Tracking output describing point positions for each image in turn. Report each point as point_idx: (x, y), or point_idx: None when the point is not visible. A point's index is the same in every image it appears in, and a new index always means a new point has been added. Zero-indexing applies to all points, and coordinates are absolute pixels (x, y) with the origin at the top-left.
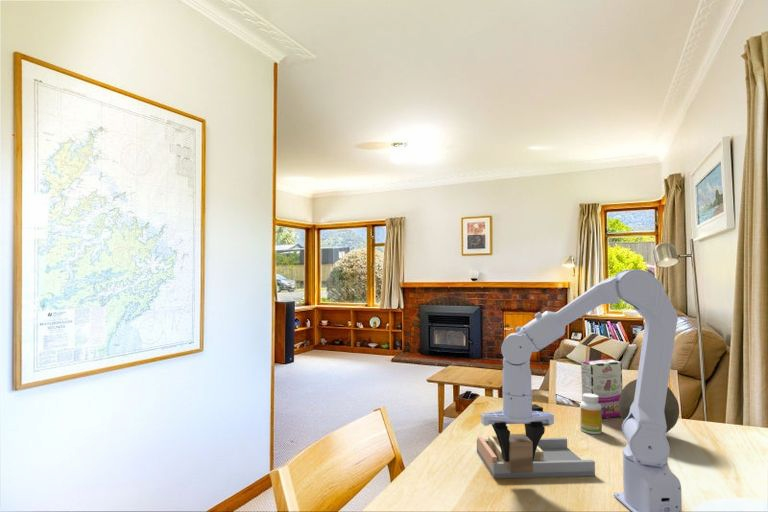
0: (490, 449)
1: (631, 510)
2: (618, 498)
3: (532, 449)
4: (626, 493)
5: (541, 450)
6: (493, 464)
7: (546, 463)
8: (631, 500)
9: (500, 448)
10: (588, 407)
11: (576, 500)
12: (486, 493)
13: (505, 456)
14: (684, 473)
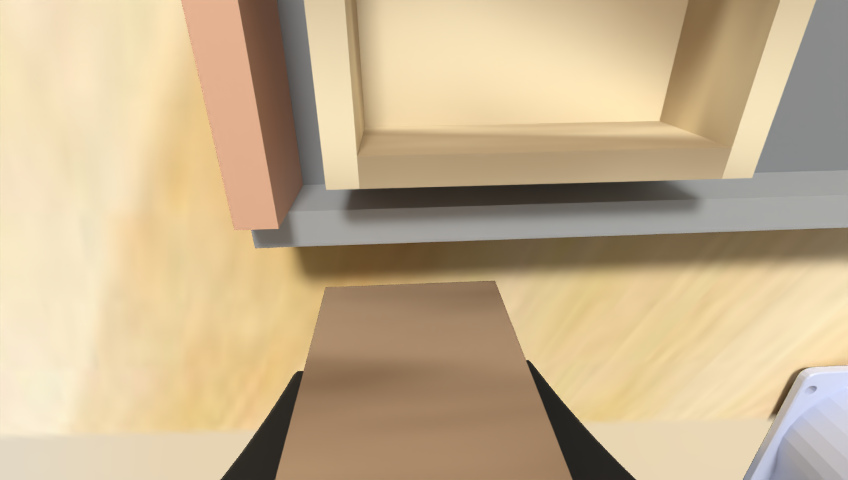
0: (234, 39)
1: (756, 461)
2: (788, 405)
3: None
4: (816, 470)
5: (751, 152)
6: (256, 240)
7: (673, 230)
8: (797, 473)
9: (344, 81)
10: None
11: (616, 394)
12: (219, 351)
13: None
14: None
